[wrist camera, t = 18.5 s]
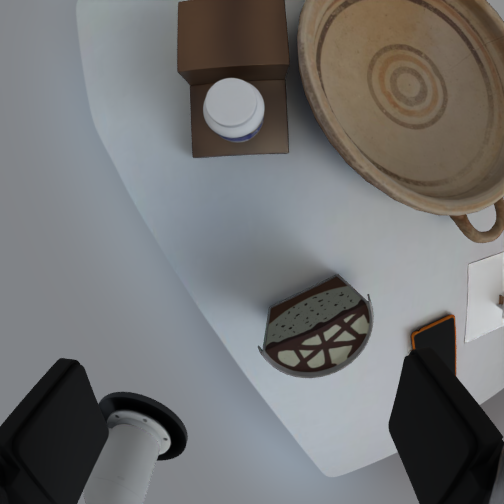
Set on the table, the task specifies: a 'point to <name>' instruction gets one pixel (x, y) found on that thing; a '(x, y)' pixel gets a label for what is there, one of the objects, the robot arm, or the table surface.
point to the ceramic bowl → (412, 99)
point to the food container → (318, 329)
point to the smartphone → (439, 340)
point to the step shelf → (235, 67)
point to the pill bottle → (234, 109)
